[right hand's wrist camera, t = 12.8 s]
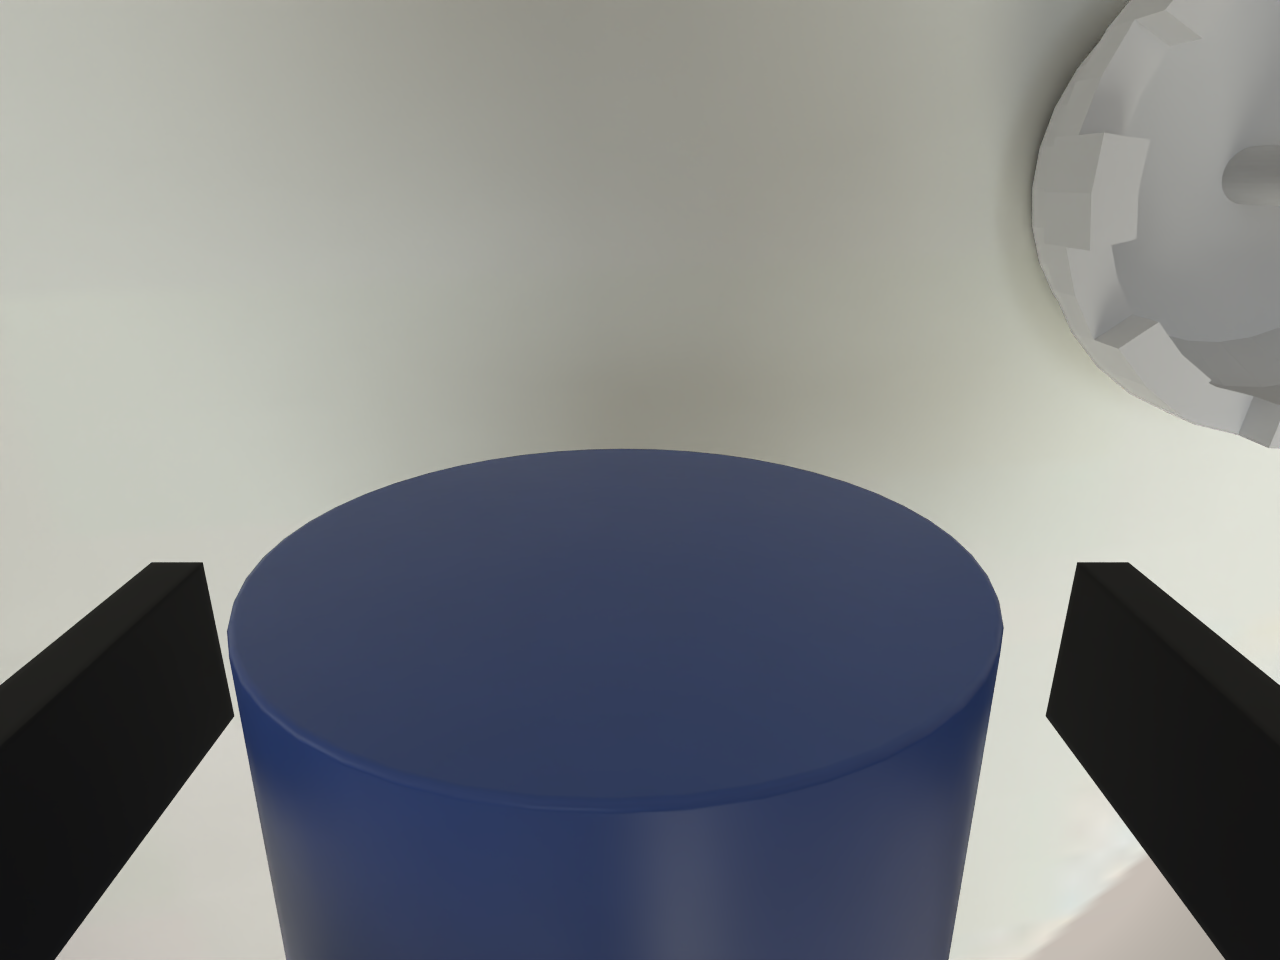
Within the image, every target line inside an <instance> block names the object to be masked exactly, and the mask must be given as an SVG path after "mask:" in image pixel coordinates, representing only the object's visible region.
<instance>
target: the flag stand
mask: <svg viewBox="0 0 1280 960" xmlns="http://www.w3.org/2000/svg"><path fill="white" fill-rule="evenodd" d="M1032 229H1033V234H1034V239H1035V244H1036V249H1037V254H1038V259H1039V263H1040V265H1041V268H1042V270H1043V272H1044V274H1045V277H1046V279H1047V281H1048V284H1049V286H1050V288H1051V291H1052V293H1053V295H1054V296H1055V297H1056V299H1057V300H1058V302H1059V305H1060V307H1061V309H1062V311H1063V314H1064V316H1065V318H1066V321H1067V323H1068V325H1069V328H1070V330H1071V332H1072V334H1073V335H1074V336H1075V338H1076V339H1077V340H1078V342H1079V343H1080V344H1081V346H1082V347H1083V348H1084V350H1085V351H1086V352H1087V354H1088V355H1089V356H1090V358H1091V359H1092V360H1093V362H1094V363H1095V364H1096V366H1097V367H1098V368H1099V369H1101V370H1102V371H1103V372H1104V373H1105V374H1107V375H1108V376H1109V377H1110V378H1111V379H1113V380H1114V381H1115V382H1116V383H1117V384H1119V385H1120V386H1121V387H1122V388H1123V389H1125V390H1126V391H1127V392H1128V393H1130V394H1131V395H1133V396H1135V397H1137V398H1139V399H1142V400H1144V401H1146V402H1148V403H1150V404H1152V405H1154V406H1156V407H1158V408H1160V409H1162V410H1164V411H1166V412H1168V413H1170V414H1172V415H1175V416H1177V417H1179V418H1181V419H1184V420H1186V421H1188V422H1190V423H1193V424H1196V425H1200V426H1204V427H1208V428H1212V429H1216V430H1220V431H1224V432H1228V433H1233V434H1237V435H1240V436H1242V437H1244V438H1247V439H1249V440H1251V441H1254V442H1256V443H1258V444H1261V445H1263V446H1265V447H1268V448H1280V0H1130V1H1129V2H1128V3H1127V5H1126V6H1125V7H1124V8H1123V10H1122V11H1121V12H1120V13H1119V15H1118V16H1117V17H1116V18H1115V19H1114V21H1113V22H1112V23H1111V24H1110V26H1109V27H1108V28H1107V30H1106V31H1105V33H1104V35H1103V37H1102V38H1101V40H1100V41H1099V42H1098V44H1097V45H1096V46H1095V47H1094V49H1093V50H1092V51H1091V52H1090V53H1089V55H1088V56H1087V57H1086V58H1085V60H1084V61H1083V62H1082V63H1081V64H1080V66H1079V67H1078V68H1077V70H1076V72H1075V73H1074V75H1073V77H1072V79H1071V80H1070V82H1069V84H1068V85H1067V87H1066V89H1065V91H1064V92H1063V94H1062V96H1061V98H1060V99H1059V101H1058V103H1057V105H1056V106H1055V108H1054V111H1053V114H1052V116H1051V119H1050V122H1049V124H1048V127H1047V130H1046V132H1045V135H1044V138H1043V140H1042V143H1041V146H1040V149H1039V154H1038V160H1037V165H1036V170H1035V176H1034V181H1033V186H1032Z"/></svg>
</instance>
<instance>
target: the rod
mask: <svg viewBox="0 0 1280 960" xmlns="http://www.w3.org/2000/svg"><path fill="white" fill-rule="evenodd" d="M227 636H228V648H229V659H230V664H231V670H232V675H233V680H234V685H235V691H236V696H237V701H238V707H239V712H240V717H241V722H242V728H243V733H244V738H245V744H246V749H247V754H248V759H249V765H250V770H251V775H252V781H253V786H254V791H255V796H256V802H257V807H258V812H259V818H260V823H261V828H262V833H263V839H264V844H265V849H266V855H267V860H268V865H269V870H270V876H271V881H272V886H273V892H274V897H275V902H276V907H277V913H278V918H279V923H280V929H281V934H282V939H283V944H284V950H285V955H286V960H948V959H949V953H950V947H951V941H952V935H953V929H954V924H955V918H956V912H957V906H958V900H959V894H960V888H961V882H962V876H963V870H964V864H965V858H966V853H967V847H968V841H969V835H970V829H971V823H972V817H973V811H974V805H975V799H976V793H977V787H978V782H979V776H980V770H981V764H982V758H983V752H984V746H985V740H986V734H987V728H988V722H989V716H990V710H991V705H992V699H993V693H994V687H995V681H996V675H997V669H998V663H999V657H1000V651H1001V643H1002V636H1003V622H1002V616H1001V610H1000V604H999V600H998V597H997V595H996V593H995V591H994V589H993V587H992V584H991V582H990V580H989V578H988V576H987V574H986V573H985V572H984V570H983V569H982V568H981V566H980V565H979V564H978V563H977V561H976V560H975V559H974V557H973V556H972V555H971V554H970V553H969V552H968V551H967V550H966V549H965V548H964V547H963V546H962V545H961V544H959V543H958V542H957V541H956V540H955V539H954V538H953V537H952V536H951V535H949V534H948V533H946V532H945V531H944V530H942V529H941V528H939V527H938V526H937V525H935V524H934V523H932V522H931V521H929V520H928V519H926V518H924V517H923V516H921V515H919V514H917V513H915V512H914V511H912V510H910V509H908V508H907V507H905V506H903V505H901V504H899V503H896V502H894V501H892V500H890V499H888V498H885V497H883V496H881V495H879V494H877V493H874V492H871V491H869V490H866V489H863V488H861V487H858V486H855V485H852V484H850V483H847V482H844V481H841V480H837V479H834V478H831V477H827V476H824V475H821V474H817V473H814V472H810V471H806V470H802V469H797V468H793V467H789V466H785V465H780V464H775V463H770V462H764V461H759V460H754V459H748V458H741V457H734V456H727V455H719V454H709V453H699V452H689V451H673V450H656V449H593V450H575V451H558V452H548V453H538V454H528V455H520V456H513V457H506V458H500V459H493V460H487V461H482V462H477V463H472V464H466V465H461V466H457V467H452V468H448V469H444V470H440V471H436V472H432V473H428V474H424V475H421V476H418V477H414V478H411V479H408V480H404V481H401V482H398V483H394V484H392V485H389V486H386V487H384V488H381V489H378V490H375V491H373V492H370V493H367V494H364V495H362V496H360V497H358V498H355V499H353V500H351V501H349V502H346V503H344V504H342V505H340V506H338V507H335V508H334V509H332V510H330V511H328V512H326V513H324V514H323V515H321V516H319V517H317V518H315V519H313V520H312V521H310V522H308V523H307V524H305V525H304V526H302V527H301V528H299V529H298V530H296V531H295V532H294V533H292V534H291V535H289V536H288V537H286V538H285V539H284V540H282V541H281V542H280V543H279V544H278V545H277V546H276V547H275V548H273V549H272V550H271V551H270V552H269V553H268V554H267V555H266V556H264V557H263V558H262V560H261V561H260V562H259V563H258V565H257V566H256V567H255V568H254V569H253V571H252V572H251V573H250V574H249V576H248V577H247V578H246V580H245V582H244V584H243V585H242V587H241V589H240V591H239V593H238V595H237V597H236V599H235V601H234V604H233V608H232V612H231V616H230V621H229V625H228V630H227Z"/></svg>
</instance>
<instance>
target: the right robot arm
mask: <svg viewBox="0 0 1280 960" xmlns="http://www.w3.org/2000/svg"><path fill="white" fill-rule="evenodd" d="M233 717H234V712H233V707H232V703H231V698H230V693H229V688H228V683H227V678H226V673H225V668H224V664H223V659H222V654H221V649H220V644H219V639H218V634H217V630H216V625H215V620H214V615H213V610H212V605H211V600H210V596H209V591H208V586H207V581H206V576H205V571H204V566H203V562H152V563H150V564H149V565H148V566H147V567H145V568H144V569H143V570H142V571H140V572H139V573H138V574H137V575H136V576H134V577H133V578H132V579H131V580H129V581H128V582H127V583H126V584H124V585H123V586H122V587H121V588H120V589H118V590H117V591H116V592H115V593H113V594H112V595H111V596H110V597H108V598H107V599H106V600H105V601H104V602H102V603H101V604H100V605H99V606H97V607H96V608H95V609H94V610H92V611H91V612H90V613H89V614H88V615H86V616H85V617H84V618H83V619H81V620H80V621H79V622H78V623H76V624H75V625H74V626H73V627H72V628H70V629H69V630H68V631H67V632H65V633H64V634H63V635H62V636H60V637H59V638H58V639H57V640H55V641H54V642H53V643H52V644H51V645H49V646H48V647H47V648H46V649H44V650H43V651H42V652H41V653H39V654H38V655H37V656H36V657H35V658H33V659H32V660H31V661H30V662H28V663H27V664H26V665H25V666H23V667H22V668H21V669H20V670H19V671H17V672H16V673H15V674H14V675H12V676H11V677H10V678H9V679H7V680H6V681H5V682H4V683H3V684H1V685H0V960H55V958H56V957H57V956H58V954H59V953H60V952H61V950H62V949H63V948H64V946H65V945H66V944H67V942H68V941H69V939H70V938H71V937H72V935H73V934H74V933H75V931H76V930H77V929H78V927H79V926H80V925H81V923H82V922H83V920H84V919H85V918H86V916H87V915H88V914H89V912H90V911H91V910H92V908H93V907H94V906H95V904H96V903H97V901H98V900H99V899H100V897H101V896H102V895H103V893H104V892H105V891H106V889H107V888H108V887H109V885H110V884H111V883H112V881H113V880H114V878H115V877H116V876H117V874H118V873H119V872H120V870H121V869H122V868H123V866H124V865H125V864H126V862H127V861H128V859H129V858H130V857H131V855H132V854H133V853H134V851H135V850H136V849H137V847H138V846H139V845H140V843H141V842H142V840H143V839H144V838H145V836H146V835H147V834H148V832H149V831H150V830H151V828H152V827H153V826H154V824H155V823H156V821H157V820H158V819H159V817H160V816H161V815H162V813H163V812H164V811H165V809H166V808H167V807H168V805H169V804H170V803H171V801H172V800H173V798H174V797H175V796H176V794H177V793H178V792H179V790H180V789H181V788H182V786H183V785H184V784H185V782H186V781H187V779H188V778H189V777H190V775H191V774H192V773H193V771H194V770H195V769H196V767H197V766H198V765H199V763H200V762H201V760H202V759H203V758H204V756H205V755H206V754H207V752H208V751H209V750H210V748H211V747H212V746H213V744H214V743H215V742H216V740H217V739H218V737H219V736H220V735H221V733H222V732H223V731H224V729H225V728H226V727H227V725H228V724H229V723H230V721H231V720H232V718H233ZM1046 717H1047V718H1048V720H1049V721H1050V723H1051V724H1052V725H1053V727H1054V728H1055V729H1056V731H1057V732H1058V733H1059V735H1060V736H1061V737H1062V739H1063V740H1064V742H1065V743H1066V744H1067V746H1068V747H1069V748H1070V750H1071V751H1072V752H1073V754H1074V755H1075V756H1076V758H1077V759H1078V760H1079V762H1080V763H1081V765H1082V766H1083V767H1084V769H1085V770H1086V771H1087V773H1088V774H1089V775H1090V777H1091V778H1092V779H1093V781H1094V782H1095V784H1096V785H1097V786H1098V788H1099V789H1100V790H1101V792H1102V793H1103V794H1104V796H1105V797H1106V798H1107V800H1108V801H1109V803H1110V804H1111V805H1112V807H1113V808H1114V809H1115V811H1116V812H1117V813H1118V815H1119V816H1120V817H1121V819H1122V820H1123V821H1124V823H1125V824H1126V826H1127V827H1128V828H1129V830H1130V831H1131V832H1132V834H1133V835H1134V836H1135V838H1136V839H1137V840H1138V842H1139V843H1140V845H1141V846H1142V847H1143V849H1144V850H1145V851H1146V853H1147V854H1148V855H1149V857H1150V858H1151V859H1152V861H1153V862H1154V864H1155V865H1156V866H1157V868H1158V869H1159V870H1160V872H1161V873H1162V874H1163V876H1164V877H1165V878H1166V880H1167V881H1168V883H1169V884H1170V885H1171V887H1172V888H1173V889H1174V891H1175V892H1176V893H1177V895H1178V896H1179V897H1180V899H1181V900H1182V901H1183V903H1184V904H1185V906H1186V907H1187V908H1188V910H1189V911H1190V912H1191V914H1192V915H1193V916H1194V918H1195V919H1196V920H1197V922H1198V923H1199V924H1200V926H1201V927H1202V929H1203V930H1204V931H1205V933H1206V934H1207V935H1208V937H1209V938H1210V939H1211V941H1212V942H1213V944H1214V945H1215V946H1216V948H1217V949H1218V950H1219V952H1220V953H1221V954H1222V956H1223V957H1224V958H1225V960H1280V685H1279V684H1277V683H1276V682H1275V681H1274V680H1273V679H1271V678H1270V677H1269V676H1268V675H1266V674H1265V673H1264V672H1263V671H1261V670H1260V669H1259V668H1258V667H1257V666H1255V665H1254V664H1253V663H1252V662H1250V661H1249V660H1248V659H1247V658H1245V657H1244V656H1243V655H1242V654H1241V653H1239V652H1238V651H1237V650H1236V649H1234V648H1233V647H1232V646H1231V645H1229V644H1228V643H1227V642H1226V641H1225V640H1223V639H1222V638H1221V637H1220V636H1218V635H1217V634H1216V633H1215V632H1213V631H1212V630H1211V629H1210V628H1208V627H1207V626H1206V625H1205V624H1204V623H1202V622H1201V621H1200V620H1199V619H1197V618H1196V617H1195V616H1194V615H1192V614H1191V613H1190V612H1189V611H1188V610H1186V609H1185V608H1184V607H1183V606H1181V605H1180V604H1179V603H1178V602H1176V601H1175V600H1174V599H1173V598H1172V597H1170V596H1169V595H1168V594H1167V593H1165V592H1164V591H1163V590H1162V589H1160V588H1159V587H1158V586H1157V585H1156V584H1154V583H1153V582H1152V581H1151V580H1149V579H1148V578H1147V577H1146V576H1144V575H1143V574H1142V573H1141V572H1140V571H1138V570H1137V569H1136V568H1135V567H1133V566H1132V565H1131V564H1130V563H1128V562H1077V566H1076V571H1075V576H1074V581H1073V586H1072V591H1071V596H1070V600H1069V605H1068V610H1067V615H1066V620H1065V625H1064V630H1063V634H1062V639H1061V644H1060V649H1059V654H1058V659H1057V664H1056V668H1055V673H1054V678H1053V683H1052V688H1051V693H1050V698H1049V703H1048V707H1047V712H1046Z"/></svg>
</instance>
